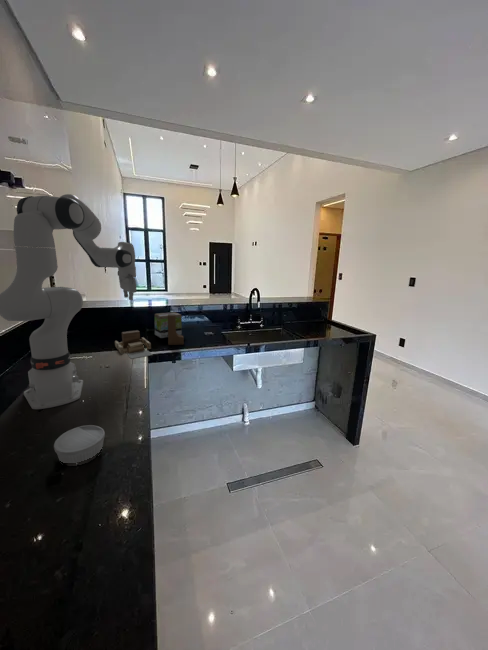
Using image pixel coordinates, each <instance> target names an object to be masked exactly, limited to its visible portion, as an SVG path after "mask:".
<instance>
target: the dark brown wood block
mask: <svg viewBox="0 0 488 650" xmlns="http://www.w3.org/2000/svg"><path fill="white" fill-rule="evenodd" d="M140 339H141V332H140V330H138V329H136V330H128V331H122V332H121V342H122V345H123V347H124V348H127V346H128V344H130V343H136V342H140Z"/></svg>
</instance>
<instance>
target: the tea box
mask: <svg viewBox="0 0 488 650" xmlns="http://www.w3.org/2000/svg"><path fill="white" fill-rule="evenodd" d="M168 314H175V315H176V333H177V334H178V335H182V333H183V332H182V328H183V327H182V325H183V324H182V323H183V322H182V321H183V320H182V317H183V316H182V314H180V313H178V312H176V311H175V312H160V313H154V335H155V336H157V337H158V338H160V339H165V338H168Z"/></svg>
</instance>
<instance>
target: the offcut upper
mask: <svg viewBox="0 0 488 650" xmlns="http://www.w3.org/2000/svg"><path fill="white" fill-rule="evenodd" d="M141 346H143V343H142V342H136V343H130V344H128V347H130V348H135V347H141Z"/></svg>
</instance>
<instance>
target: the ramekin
mask: <svg viewBox="0 0 488 650" xmlns="http://www.w3.org/2000/svg"><path fill="white" fill-rule="evenodd" d="M105 436H106V432H105V429H104V428H102V427H100V426H98V425H93V424H89V425H81V426H77V427H74V428H70V429H69V430H67V431H66V432H64V433H62V434H60V435H59V436H58V438H57V439H55V441H54V444H53V449H54V452H55V453H56V454H57V457H58V460H59V462H60V461H61V462H63V463H77V462H81V461H84V460H87V459H89V458H92V457H93V456H95V455H96V454H97V453H99V452H100V450H101V449H102V450H103V448H102V447H104V439H105ZM61 462H60V463H61Z"/></svg>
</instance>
